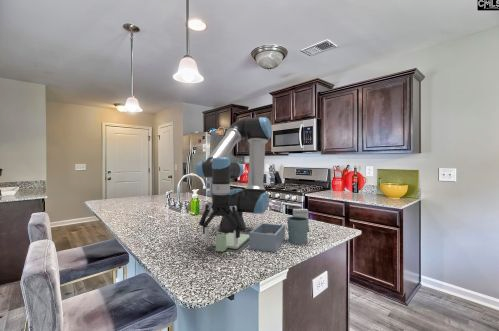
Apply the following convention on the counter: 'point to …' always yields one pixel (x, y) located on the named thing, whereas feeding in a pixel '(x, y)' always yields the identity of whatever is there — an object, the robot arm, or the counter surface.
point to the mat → (231, 248)
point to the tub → (267, 237)
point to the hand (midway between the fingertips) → (221, 243)
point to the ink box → (301, 213)
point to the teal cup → (297, 229)
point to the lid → (229, 241)
